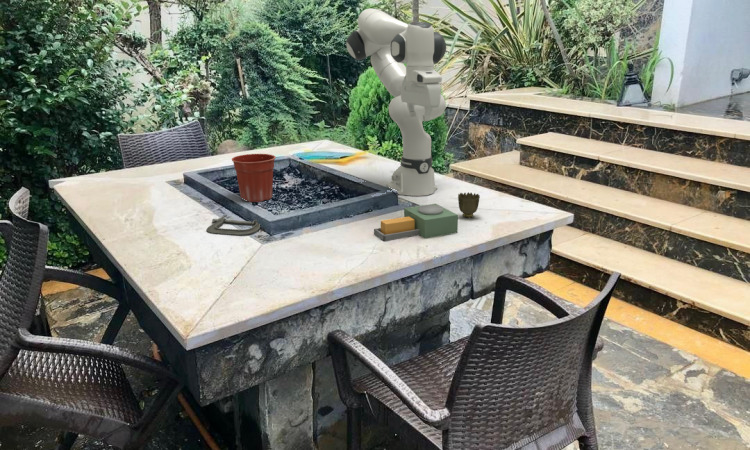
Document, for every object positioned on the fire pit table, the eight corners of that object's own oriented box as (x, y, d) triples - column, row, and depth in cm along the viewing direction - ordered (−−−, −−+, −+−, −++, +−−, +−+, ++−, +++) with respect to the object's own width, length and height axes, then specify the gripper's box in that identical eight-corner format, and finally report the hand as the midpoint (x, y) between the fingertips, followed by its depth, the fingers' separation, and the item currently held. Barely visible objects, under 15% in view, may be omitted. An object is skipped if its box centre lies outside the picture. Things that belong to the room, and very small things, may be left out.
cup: (478, 221, 196) (479, 198, 193) (456, 219, 197) (457, 197, 194) (479, 214, 203) (480, 192, 200) (457, 213, 204) (458, 191, 201)
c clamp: (194, 233, 189) (193, 225, 188) (224, 217, 204) (223, 210, 203) (247, 240, 182) (247, 231, 181) (274, 223, 197) (274, 215, 196)
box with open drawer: (369, 231, 187) (369, 210, 185) (435, 220, 197) (435, 200, 195) (388, 244, 175) (388, 222, 173) (457, 232, 185) (458, 211, 182)
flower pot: (262, 190, 236) (259, 151, 231) (286, 197, 225) (284, 157, 220) (227, 198, 225) (223, 158, 220) (250, 206, 214) (247, 164, 209)
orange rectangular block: (380, 235, 184) (380, 220, 182) (408, 230, 187) (408, 216, 186) (386, 239, 180) (385, 224, 179) (414, 234, 184) (414, 219, 182)
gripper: (396, 73, 192) (396, 115, 196) (427, 77, 174) (426, 123, 179) (412, 73, 194) (412, 114, 199) (444, 77, 177) (443, 122, 181)
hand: (419, 118), depth 188 cm, fingers open, 8 cm apart
